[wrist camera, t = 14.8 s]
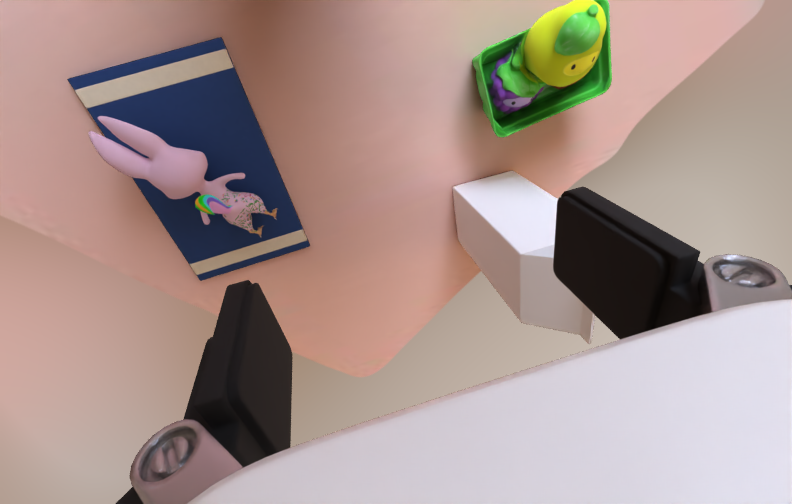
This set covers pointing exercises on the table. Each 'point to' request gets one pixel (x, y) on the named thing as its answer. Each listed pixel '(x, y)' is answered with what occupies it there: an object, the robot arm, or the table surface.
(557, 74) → the fruit basket
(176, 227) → the cloth
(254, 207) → the rabbit figure
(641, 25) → the table surface
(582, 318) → the milk carton
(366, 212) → the table surface
